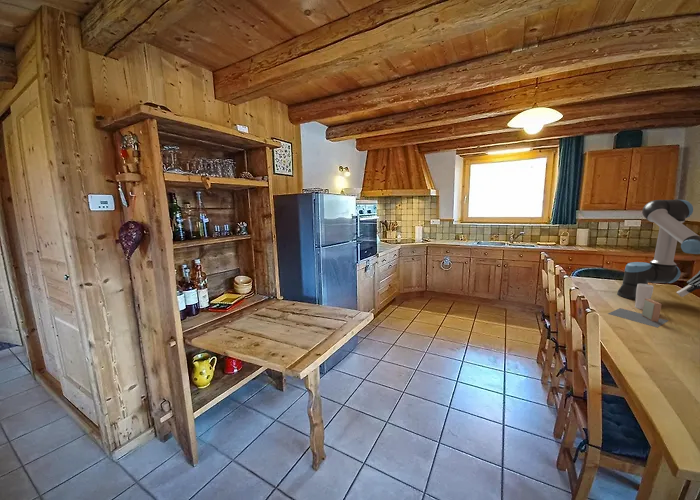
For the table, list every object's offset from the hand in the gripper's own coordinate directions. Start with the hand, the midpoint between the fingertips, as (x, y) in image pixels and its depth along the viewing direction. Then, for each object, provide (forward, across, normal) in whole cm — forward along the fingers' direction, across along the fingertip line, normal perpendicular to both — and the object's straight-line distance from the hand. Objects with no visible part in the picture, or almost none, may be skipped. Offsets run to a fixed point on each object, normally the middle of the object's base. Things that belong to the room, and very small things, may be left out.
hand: (679, 294), depth 147 cm
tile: (+18, 0, -3) cm, 18 cm away
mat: (+22, 0, 0) cm, 22 cm away
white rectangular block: (+14, +17, -8) cm, 23 cm away
